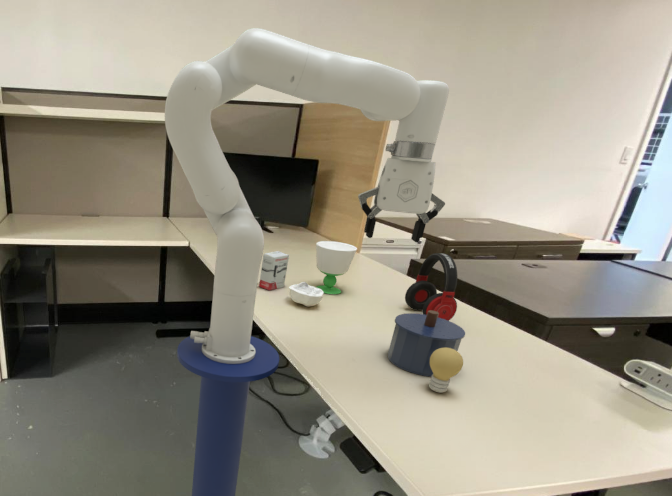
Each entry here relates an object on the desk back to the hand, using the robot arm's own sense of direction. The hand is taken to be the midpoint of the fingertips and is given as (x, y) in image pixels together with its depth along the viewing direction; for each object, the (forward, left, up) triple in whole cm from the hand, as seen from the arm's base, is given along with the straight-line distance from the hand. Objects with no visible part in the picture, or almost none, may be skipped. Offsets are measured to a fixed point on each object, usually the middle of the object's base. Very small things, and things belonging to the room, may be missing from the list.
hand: (391, 238), depth 99 cm
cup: (0, +58, -31) cm, 66 cm away
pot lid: (+15, +5, -21) cm, 26 cm away
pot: (+15, +5, -30) cm, 34 cm away
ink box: (-20, +55, -31) cm, 66 cm away
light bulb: (+15, -8, -31) cm, 35 cm away
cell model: (-10, +40, -31) cm, 51 cm away
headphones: (+28, +40, -31) cm, 58 cm away
